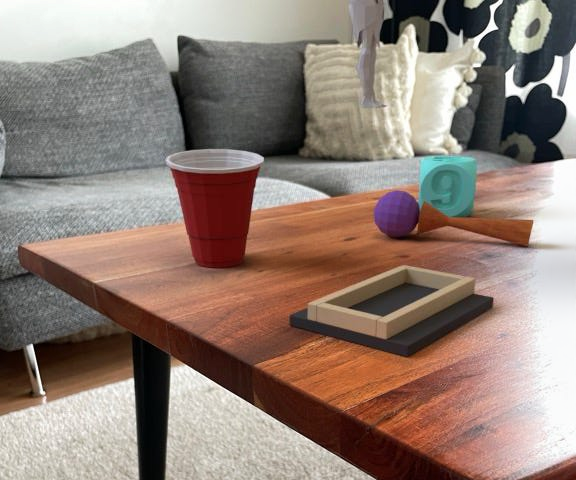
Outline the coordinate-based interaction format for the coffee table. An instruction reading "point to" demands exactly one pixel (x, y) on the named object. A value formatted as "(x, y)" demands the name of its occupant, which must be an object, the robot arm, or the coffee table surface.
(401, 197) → the kendama
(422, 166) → the decorative dice
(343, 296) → the stand pad
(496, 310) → the coffee table surface
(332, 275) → the coffee table surface
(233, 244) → the plastic cup
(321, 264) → the coffee table surface
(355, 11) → the human figurine
